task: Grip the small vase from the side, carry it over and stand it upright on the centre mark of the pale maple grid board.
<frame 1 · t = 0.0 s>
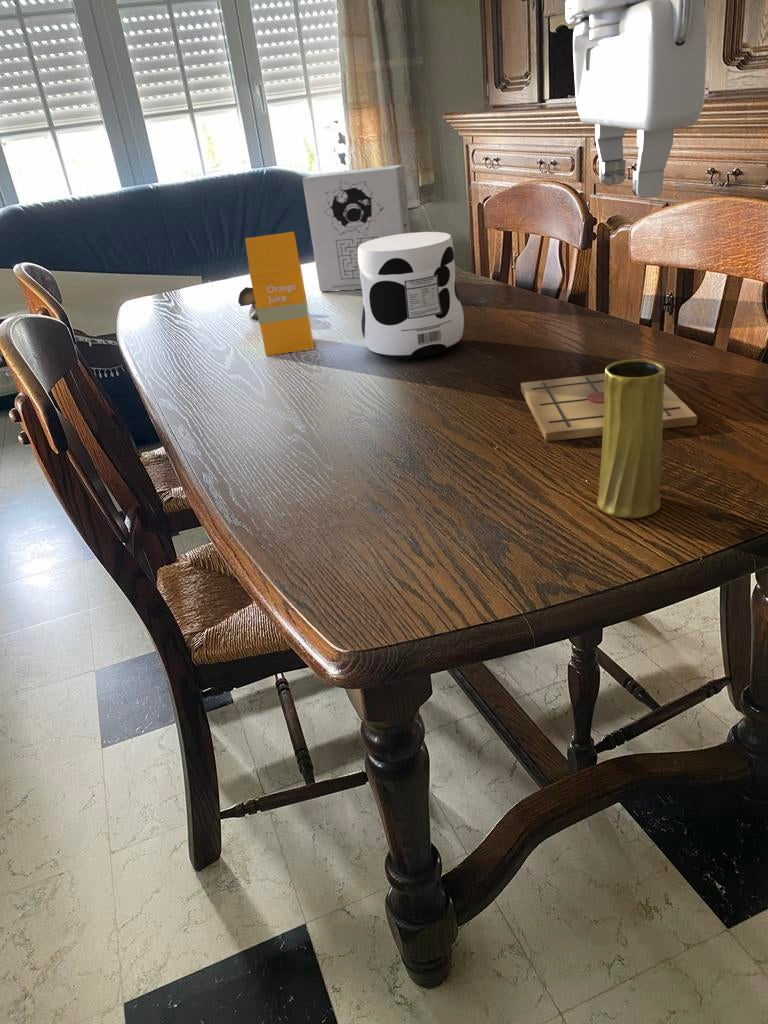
hand: (628, 189, 59), 30 cm above the table, tool pointing down, fingers open, 8 cm apart
vase: (628, 506, 75), on the table
cereal box: (367, 286, 177), on the table
eagle figurine: (258, 316, 164), on the table
milk container: (415, 351, 129), on the table
board: (601, 406, 98), on the table
orange juice: (290, 348, 139), on the table
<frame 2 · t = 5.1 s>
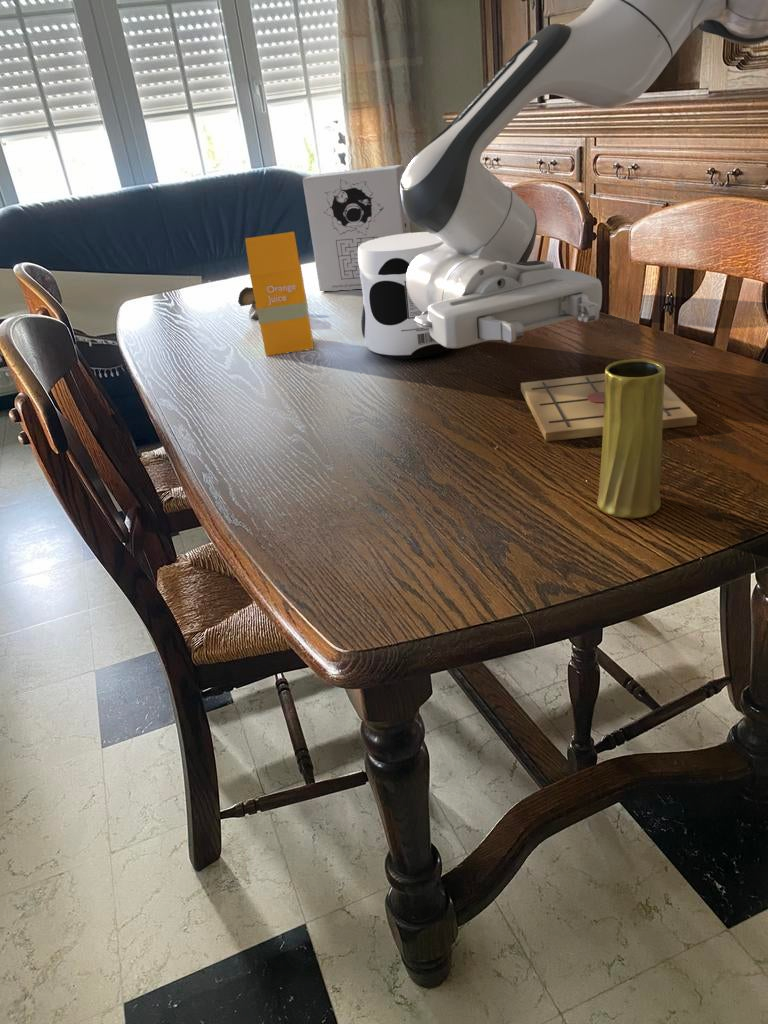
hand: (556, 323, 77), 16 cm above the table, tool horizontal, fingers open, 8 cm apart
nothing on the table moved.
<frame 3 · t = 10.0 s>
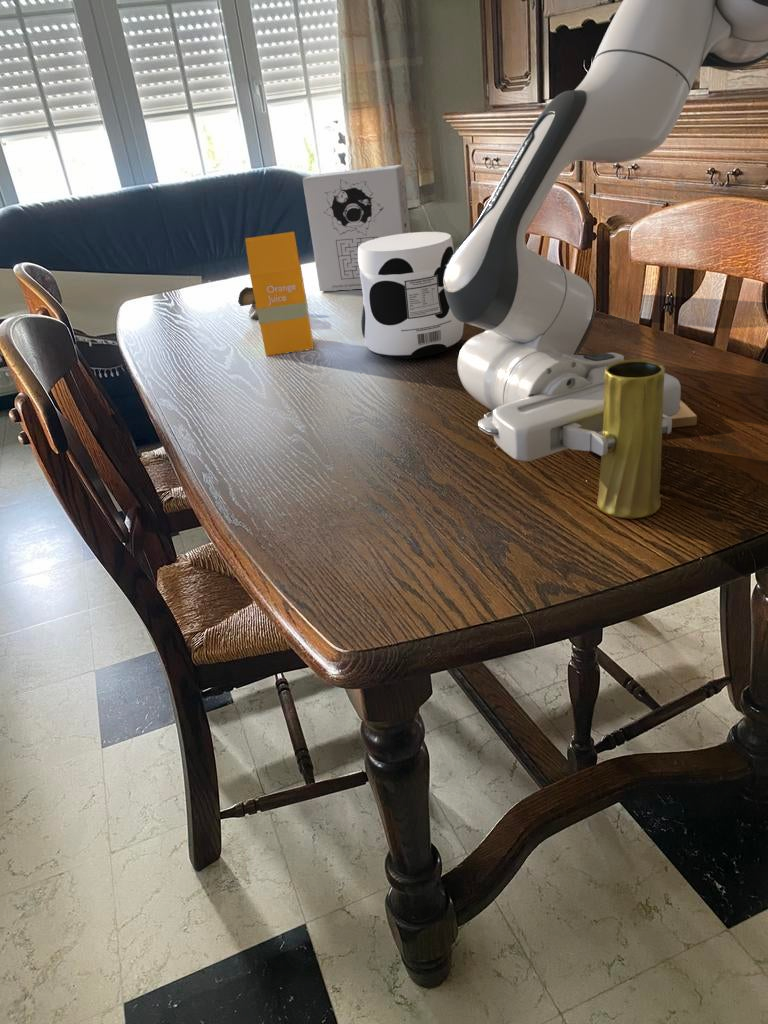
hand: (638, 437, 71), 8 cm above the table, tool horizontal, fingers closed on vase, 5 cm apart
vase: (628, 506, 75), on the table, touching gripper
everything else where it was.
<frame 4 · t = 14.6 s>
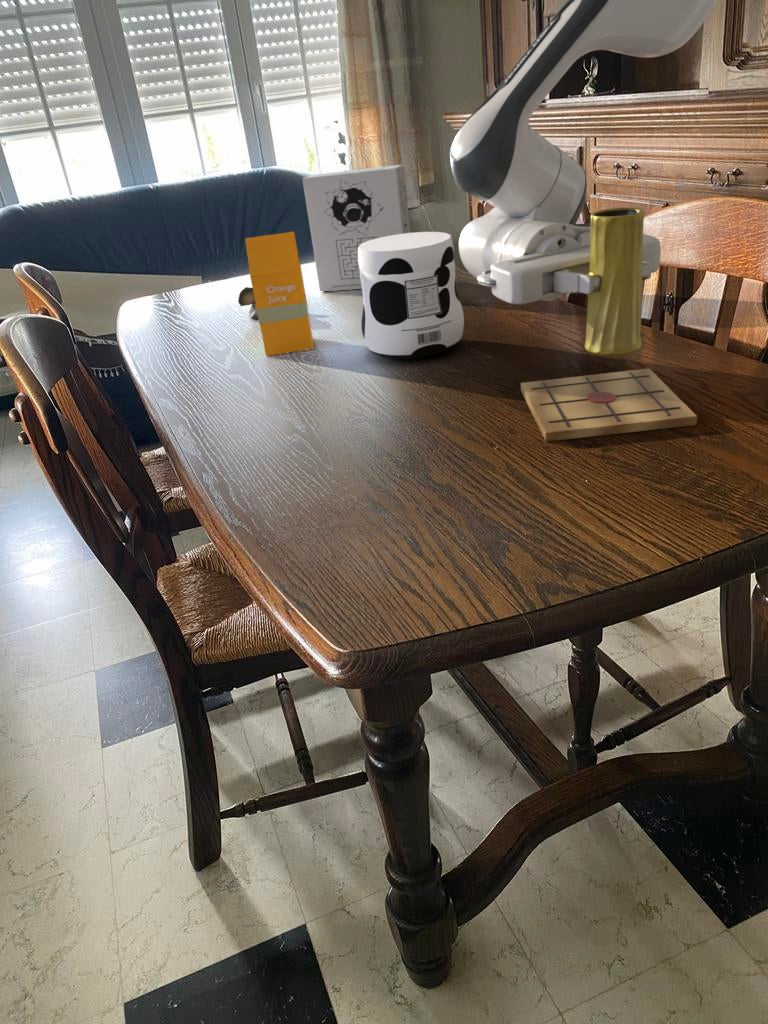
hand: (621, 278, 79), 19 cm above the table, tool horizontal, fingers closed on vase, 5 cm apart
vase: (612, 349, 84), point 11 cm above the table, touching gripper
everything else where it was.
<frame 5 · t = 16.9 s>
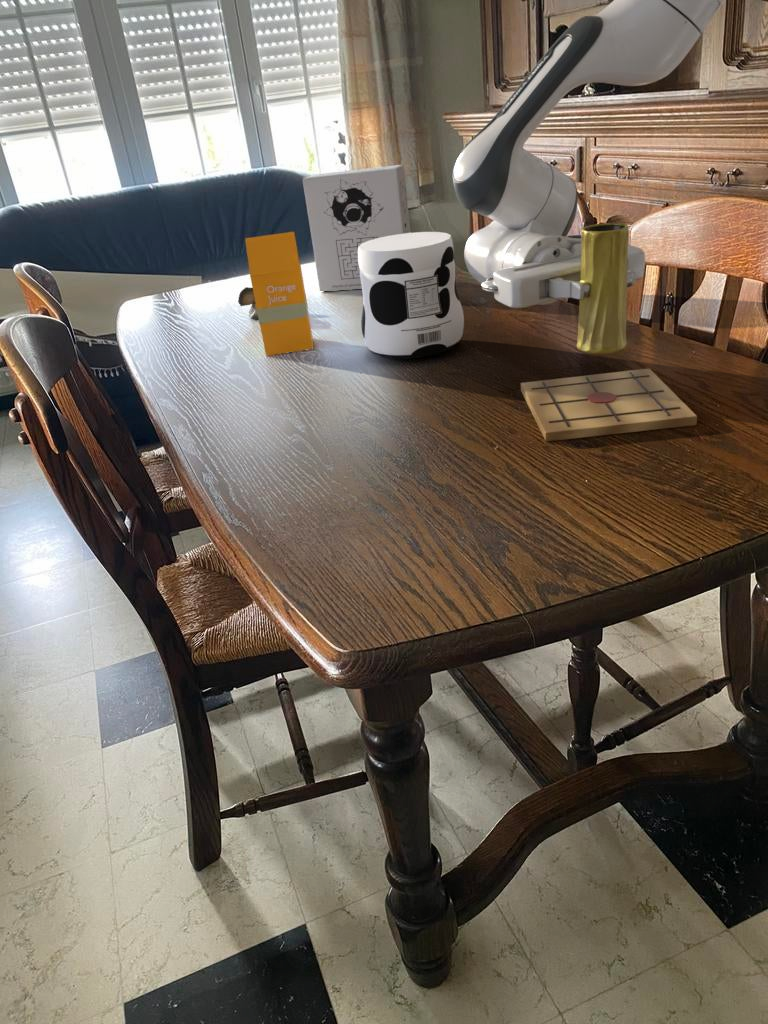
hand: (608, 285, 89), 16 cm above the table, tool horizontal, fingers closed on vase, 5 cm apart
vase: (601, 347, 94), point 8 cm above the table, touching gripper
everything else where it was.
when the fingers open (9 cm above the table, at t = 19.2 s): vase stays where it is, resting on board.
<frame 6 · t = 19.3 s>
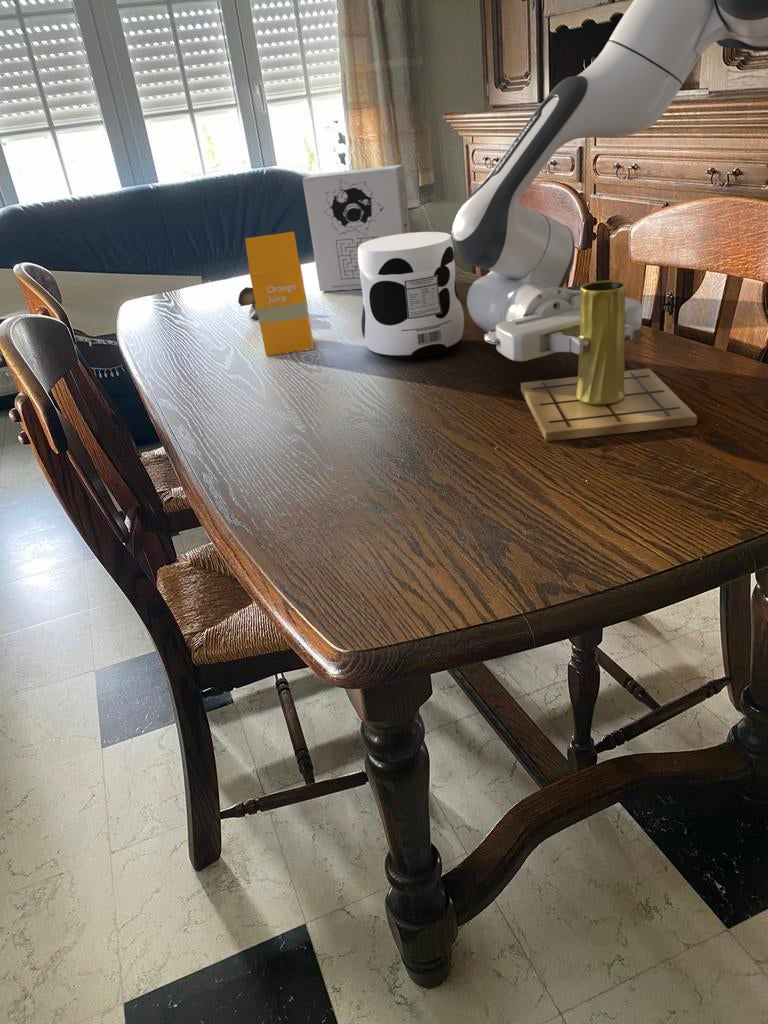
hand: (607, 340, 93), 9 cm above the table, tool horizontal, fingers open, 5 cm apart
vase: (600, 398, 97), point 1 cm above the table, touching board
everything else where it was.
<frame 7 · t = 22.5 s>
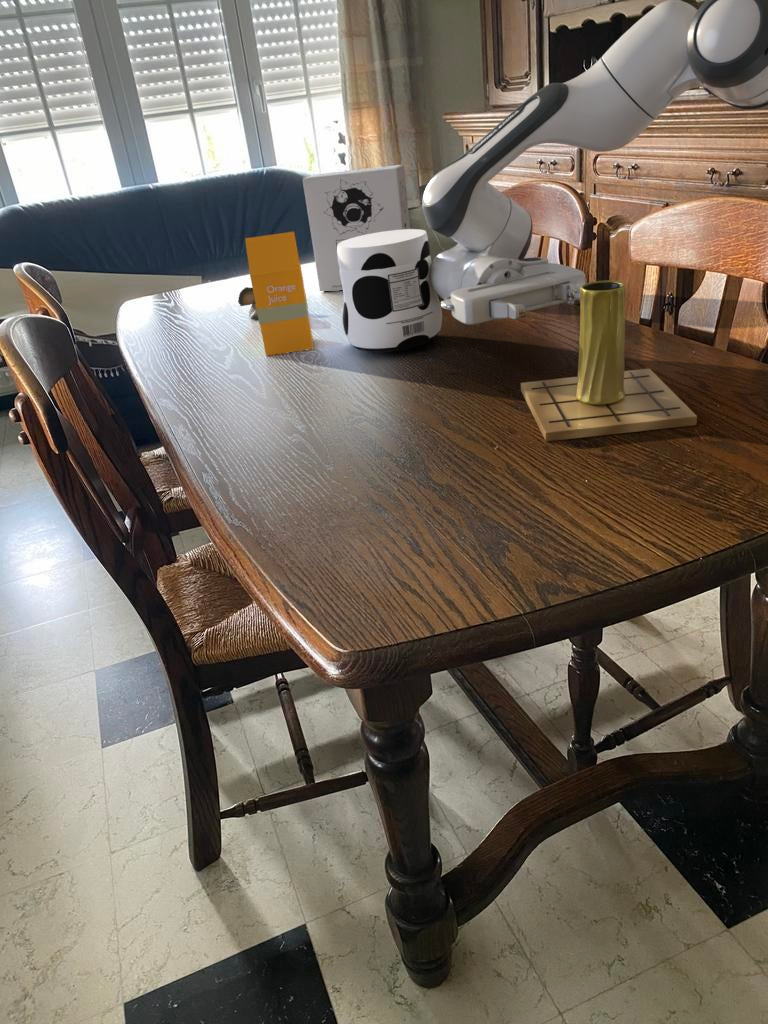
hand: (549, 305, 101), 11 cm above the table, tool horizontal, fingers open, 8 cm apart
milk container: (395, 345, 132), on the table, touching arm
everything else where it was.
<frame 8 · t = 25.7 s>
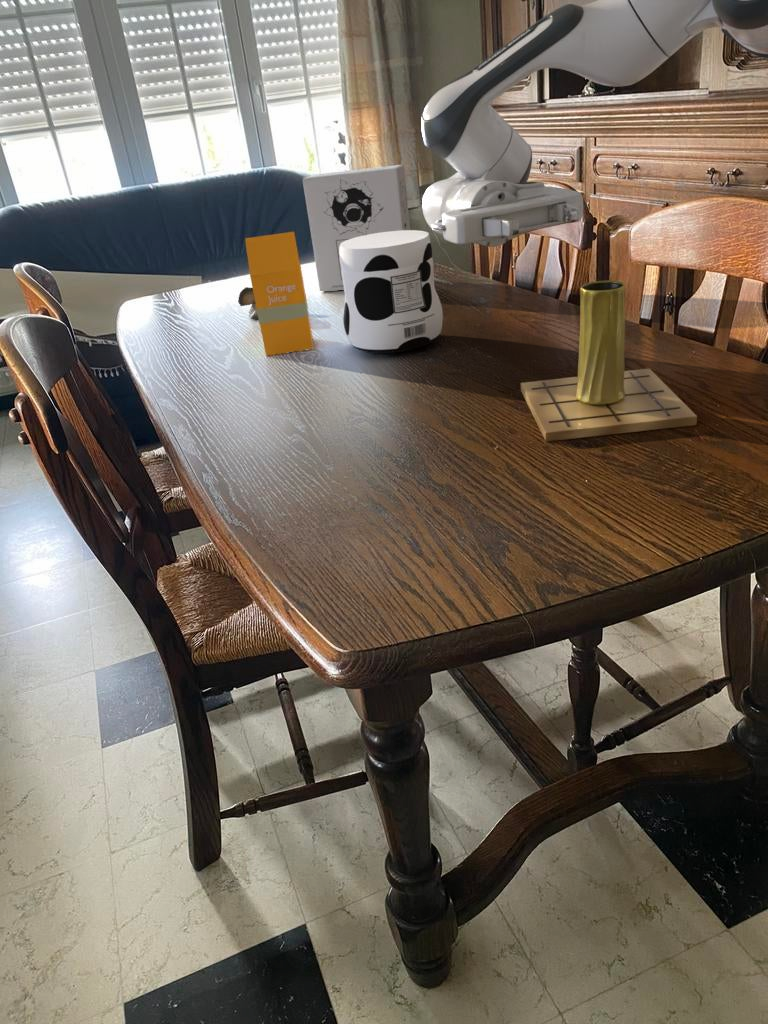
hand: (545, 221, 97), 22 cm above the table, tool horizontal, fingers open, 8 cm apart
milk container: (396, 346, 133), on the table
everything else where it was.
at the end: vase 0.1 cm off-centre on the board, point 1.1 cm above the board's base; vase tilted 0°; the gripper is holding nothing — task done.
